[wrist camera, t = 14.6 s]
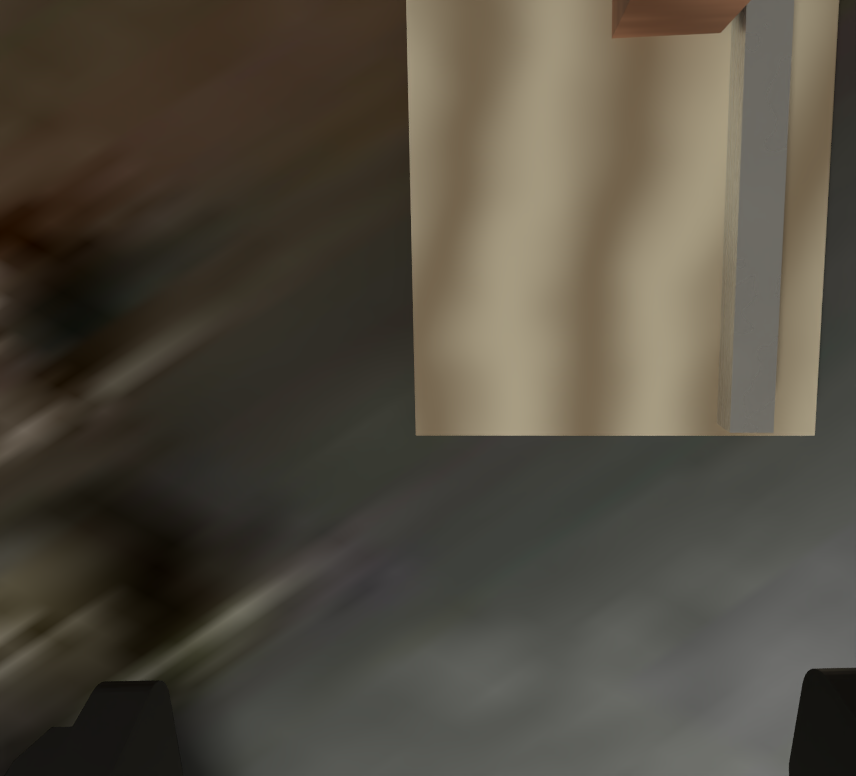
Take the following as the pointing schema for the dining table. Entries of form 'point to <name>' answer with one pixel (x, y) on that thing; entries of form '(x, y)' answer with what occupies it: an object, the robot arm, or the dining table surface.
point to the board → (594, 220)
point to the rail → (754, 214)
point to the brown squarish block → (672, 17)
